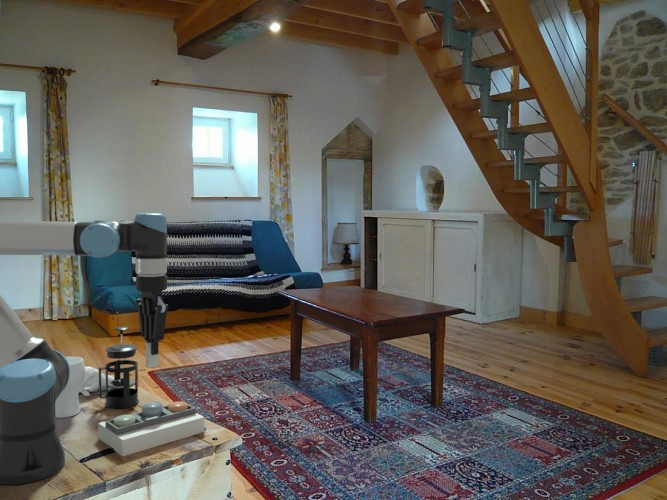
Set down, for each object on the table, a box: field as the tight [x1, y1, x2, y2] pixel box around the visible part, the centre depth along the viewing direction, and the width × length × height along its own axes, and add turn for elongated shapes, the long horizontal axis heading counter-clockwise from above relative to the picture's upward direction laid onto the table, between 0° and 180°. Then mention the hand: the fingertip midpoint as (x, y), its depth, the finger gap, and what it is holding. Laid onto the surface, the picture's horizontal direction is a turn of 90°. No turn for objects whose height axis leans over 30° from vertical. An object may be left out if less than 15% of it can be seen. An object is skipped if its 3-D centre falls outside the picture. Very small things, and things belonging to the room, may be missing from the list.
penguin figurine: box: [79, 366, 114, 397], centre depth 177 cm, size 6×8×12 cm
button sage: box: [113, 414, 135, 428], centre depth 140 cm, size 5×5×2 cm
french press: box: [98, 326, 140, 410], centre depth 166 cm, size 12×9×23 cm
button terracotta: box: [168, 401, 189, 413], centre depth 150 cm, size 5×5×2 cm
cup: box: [55, 356, 86, 419], centre depth 158 cm, size 11×11×15 cm
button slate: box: [141, 401, 163, 417], centre depth 145 cm, size 5×5×2 cm
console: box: [97, 401, 205, 457], centre depth 145 cm, size 22×14×6 cm, turn 135°
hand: (152, 366), depth 144 cm, fingers closed
